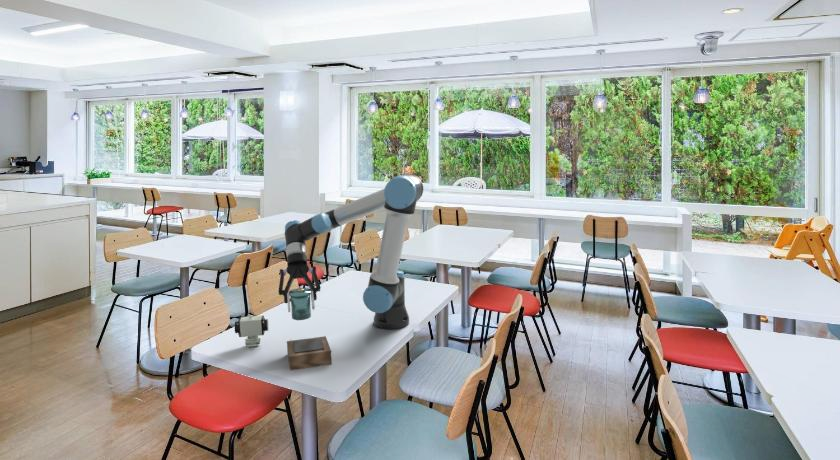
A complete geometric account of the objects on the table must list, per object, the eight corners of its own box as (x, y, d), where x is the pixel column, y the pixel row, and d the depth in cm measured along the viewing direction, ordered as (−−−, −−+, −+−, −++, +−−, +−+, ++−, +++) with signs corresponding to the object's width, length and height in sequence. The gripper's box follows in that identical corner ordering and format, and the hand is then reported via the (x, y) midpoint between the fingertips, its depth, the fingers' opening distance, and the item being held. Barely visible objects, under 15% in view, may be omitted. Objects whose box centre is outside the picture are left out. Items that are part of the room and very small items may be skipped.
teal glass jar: (311, 312, 191) (310, 285, 189) (313, 319, 183) (311, 291, 181) (290, 314, 189) (288, 287, 187) (291, 321, 181) (289, 293, 179)
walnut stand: (326, 348, 185) (325, 335, 184) (331, 364, 172) (331, 349, 171) (287, 354, 181) (286, 340, 180) (290, 370, 168) (289, 355, 167)
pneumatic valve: (268, 346, 188) (266, 316, 186) (236, 349, 186) (233, 318, 184) (269, 341, 193) (267, 311, 191) (238, 343, 191) (236, 313, 189)
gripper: (323, 259, 200) (329, 310, 188) (269, 263, 194) (272, 316, 182) (323, 249, 194) (330, 301, 182) (268, 253, 188) (271, 307, 176)
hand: (301, 309), depth 182 cm, fingers closed on teal glass jar, 8 cm apart
